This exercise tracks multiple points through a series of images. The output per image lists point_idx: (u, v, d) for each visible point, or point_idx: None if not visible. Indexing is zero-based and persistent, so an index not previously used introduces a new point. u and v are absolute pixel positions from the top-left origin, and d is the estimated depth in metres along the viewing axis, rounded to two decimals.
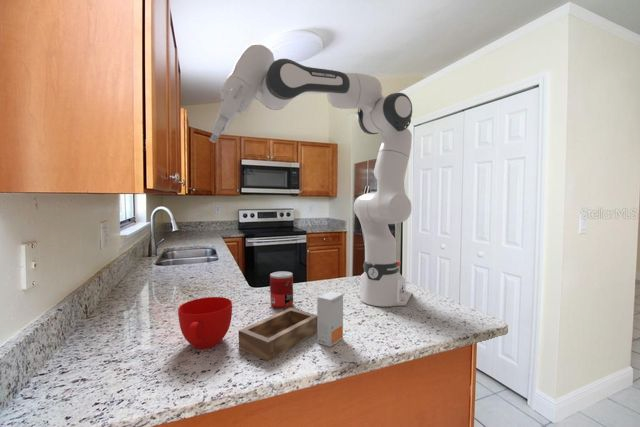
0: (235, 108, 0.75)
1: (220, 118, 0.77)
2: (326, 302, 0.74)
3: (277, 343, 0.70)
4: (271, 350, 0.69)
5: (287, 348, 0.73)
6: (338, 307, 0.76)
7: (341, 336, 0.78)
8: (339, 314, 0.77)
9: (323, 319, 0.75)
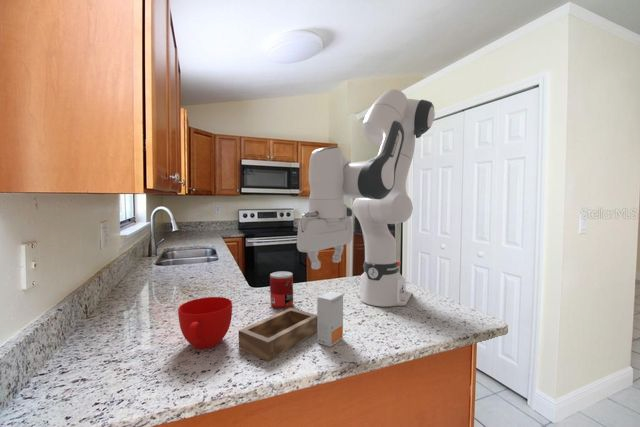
0: (307, 242, 0.67)
1: (309, 253, 0.71)
2: (326, 302, 0.74)
3: (277, 343, 0.70)
4: (271, 350, 0.69)
5: (287, 348, 0.73)
6: (338, 307, 0.76)
7: (341, 336, 0.78)
8: (339, 314, 0.77)
9: (323, 319, 0.75)
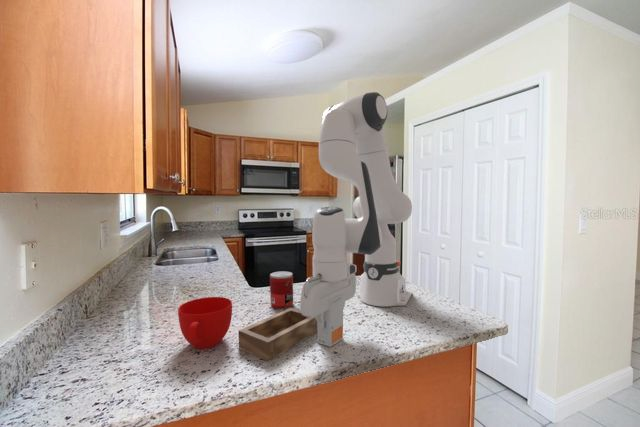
0: (310, 308, 0.68)
1: None
2: None
3: (277, 343, 0.70)
4: (271, 350, 0.69)
5: (287, 348, 0.73)
6: (338, 307, 0.76)
7: (341, 336, 0.78)
8: (339, 314, 0.77)
9: None
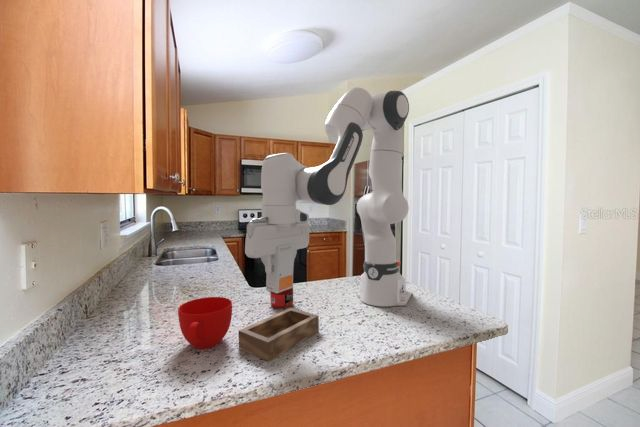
0: (253, 248, 0.69)
1: (262, 258, 0.74)
2: None
3: (277, 343, 0.70)
4: (271, 350, 0.69)
5: (287, 348, 0.73)
6: (287, 255, 0.76)
7: (291, 285, 0.79)
8: (289, 263, 0.77)
9: None
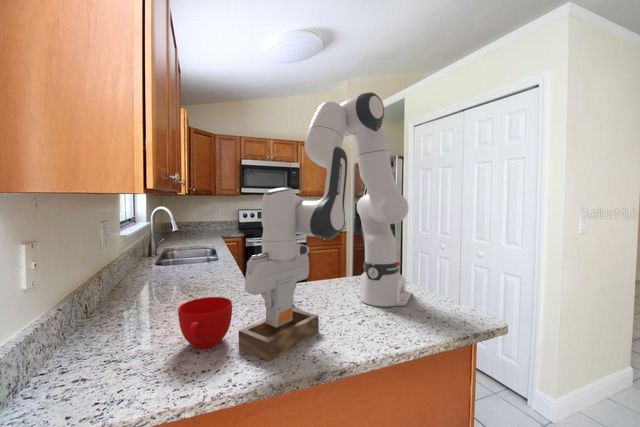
0: (253, 285, 0.69)
1: (262, 293, 0.74)
2: None
3: (277, 343, 0.70)
4: (271, 350, 0.69)
5: (287, 348, 0.73)
6: (287, 289, 0.77)
7: (290, 318, 0.79)
8: (288, 296, 0.78)
9: None
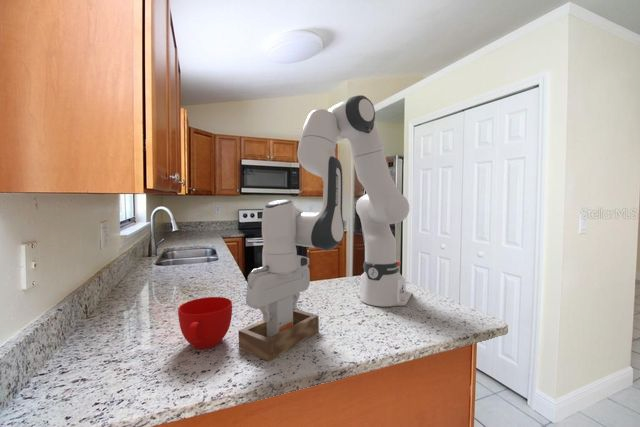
0: (254, 299, 0.69)
1: None
2: None
3: (277, 343, 0.70)
4: (271, 350, 0.69)
5: (287, 348, 0.73)
6: (286, 303, 0.78)
7: None
8: (288, 310, 0.78)
9: None
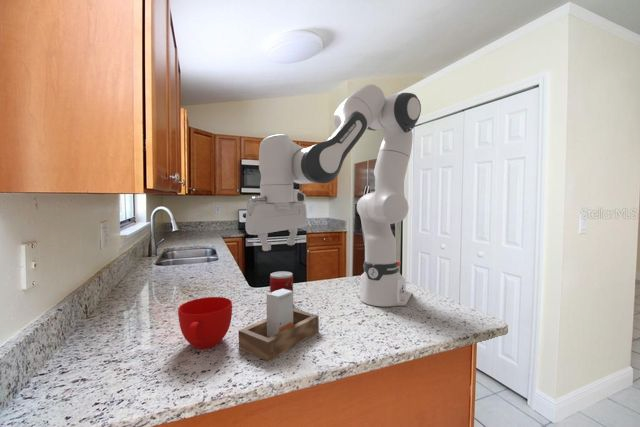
0: (253, 225, 0.72)
1: (259, 236, 0.76)
2: (274, 299, 0.76)
3: (277, 343, 0.70)
4: (271, 350, 0.69)
5: (287, 348, 0.73)
6: (287, 303, 0.78)
7: None
8: (288, 310, 0.78)
9: (272, 315, 0.76)
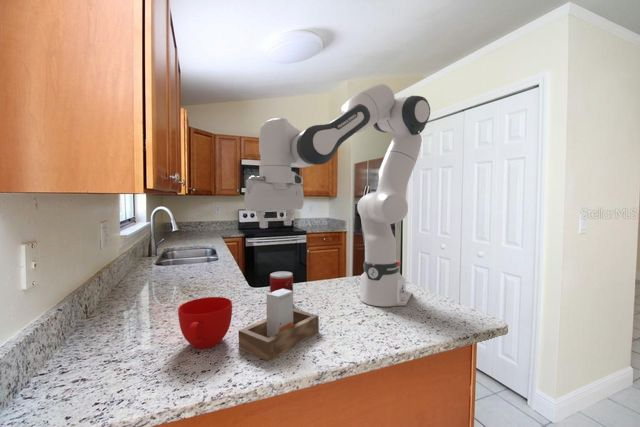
0: (251, 201, 0.76)
1: (256, 213, 0.80)
2: (274, 299, 0.76)
3: (277, 343, 0.70)
4: (271, 350, 0.69)
5: (287, 348, 0.73)
6: (287, 303, 0.78)
7: None
8: (288, 310, 0.78)
9: (272, 315, 0.76)
